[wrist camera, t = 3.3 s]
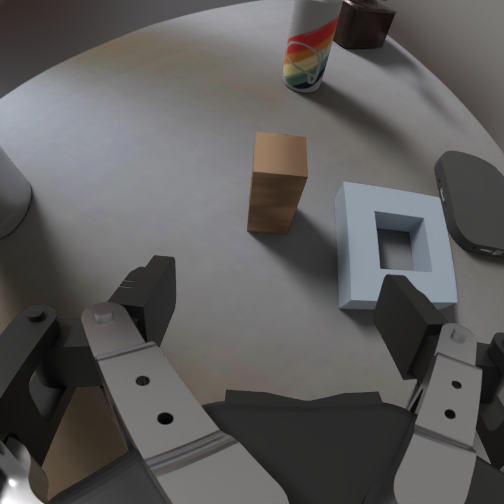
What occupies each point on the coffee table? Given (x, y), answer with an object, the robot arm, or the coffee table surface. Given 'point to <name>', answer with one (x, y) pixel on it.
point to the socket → (367, 253)
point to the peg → (276, 181)
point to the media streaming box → (472, 202)
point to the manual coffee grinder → (363, 24)
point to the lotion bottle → (310, 43)
